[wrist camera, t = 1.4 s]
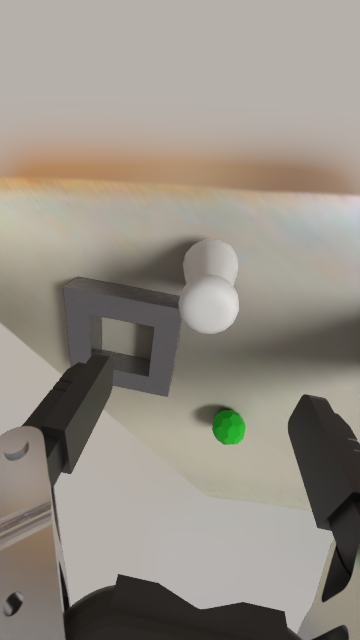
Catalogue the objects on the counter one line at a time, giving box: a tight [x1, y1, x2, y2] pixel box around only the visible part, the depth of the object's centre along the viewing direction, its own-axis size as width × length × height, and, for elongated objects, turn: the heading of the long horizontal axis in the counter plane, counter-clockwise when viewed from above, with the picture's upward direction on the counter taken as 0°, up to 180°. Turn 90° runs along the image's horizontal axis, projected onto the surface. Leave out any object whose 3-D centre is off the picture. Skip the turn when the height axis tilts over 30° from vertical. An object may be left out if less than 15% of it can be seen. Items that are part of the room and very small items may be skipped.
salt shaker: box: [178, 239, 239, 334], centre depth 22 cm, size 6×6×13 cm
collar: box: [63, 277, 182, 397], centre depth 32 cm, size 14×14×4 cm
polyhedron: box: [212, 410, 245, 445], centre depth 37 cm, size 5×5×5 cm
